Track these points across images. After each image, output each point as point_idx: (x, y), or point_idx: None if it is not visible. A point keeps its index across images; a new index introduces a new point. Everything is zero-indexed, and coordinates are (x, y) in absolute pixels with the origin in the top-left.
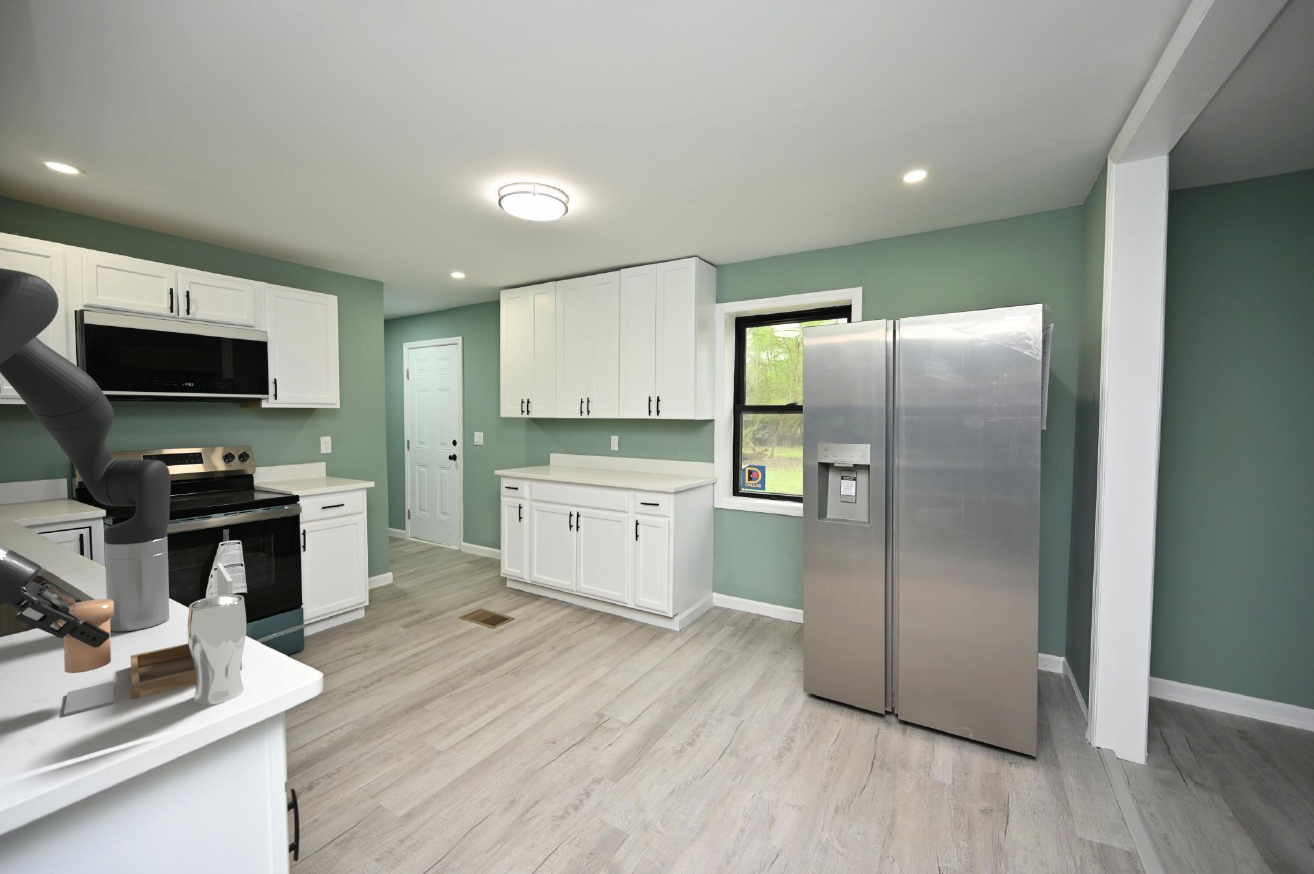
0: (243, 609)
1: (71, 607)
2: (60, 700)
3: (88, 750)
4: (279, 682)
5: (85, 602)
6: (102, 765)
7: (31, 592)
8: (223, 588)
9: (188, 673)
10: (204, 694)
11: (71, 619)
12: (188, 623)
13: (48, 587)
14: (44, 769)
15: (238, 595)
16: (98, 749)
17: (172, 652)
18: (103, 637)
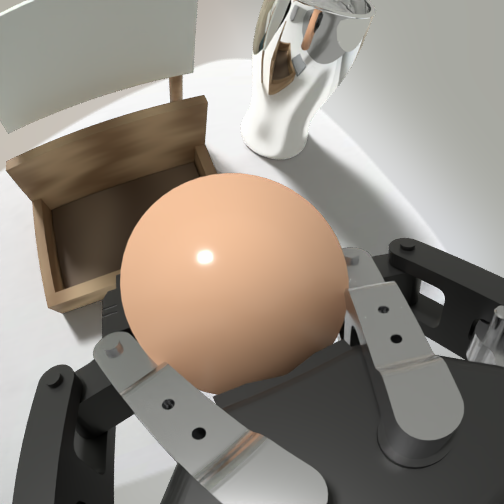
0: None
1: (364, 287)
2: None
3: (387, 253)
4: (242, 80)
5: (161, 312)
6: (419, 222)
7: (500, 440)
8: (101, 14)
9: (211, 162)
10: (307, 131)
11: (430, 249)
12: (349, 47)
13: (322, 488)
14: None
15: None
16: (387, 242)
17: (49, 236)
18: None
